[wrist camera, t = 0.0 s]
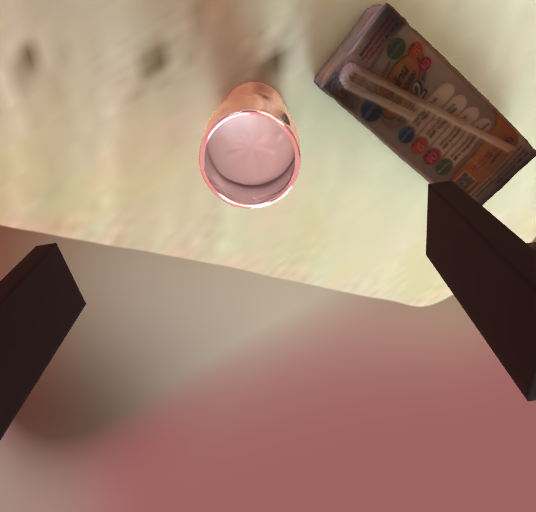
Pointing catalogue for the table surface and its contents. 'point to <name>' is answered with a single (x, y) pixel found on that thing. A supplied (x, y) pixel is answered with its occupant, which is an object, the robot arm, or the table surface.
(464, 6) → the table surface
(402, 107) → the beverage carton
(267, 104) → the beer glass
